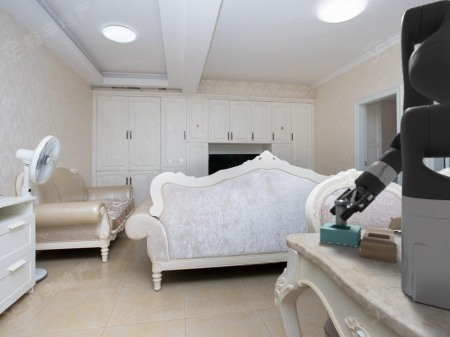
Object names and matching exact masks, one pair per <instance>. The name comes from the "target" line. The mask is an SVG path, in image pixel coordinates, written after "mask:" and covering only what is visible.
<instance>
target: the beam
mask: <svg viewBox="0 0 450 337" xmlns="http://www.w3.org/2000/svg"><path fill="white" fill-rule="evenodd" d="M365 228H366V229H365V231H364V234H363V235H362V237H361V240H360V258H363V257H364V258H365V259H370V260H375V261H381V262H388V263H392V264H395V249H396V247H395V231H394V230H389V229H388V228H382V227H381V228H379V227H371V226H367V227H365Z"/></svg>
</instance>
